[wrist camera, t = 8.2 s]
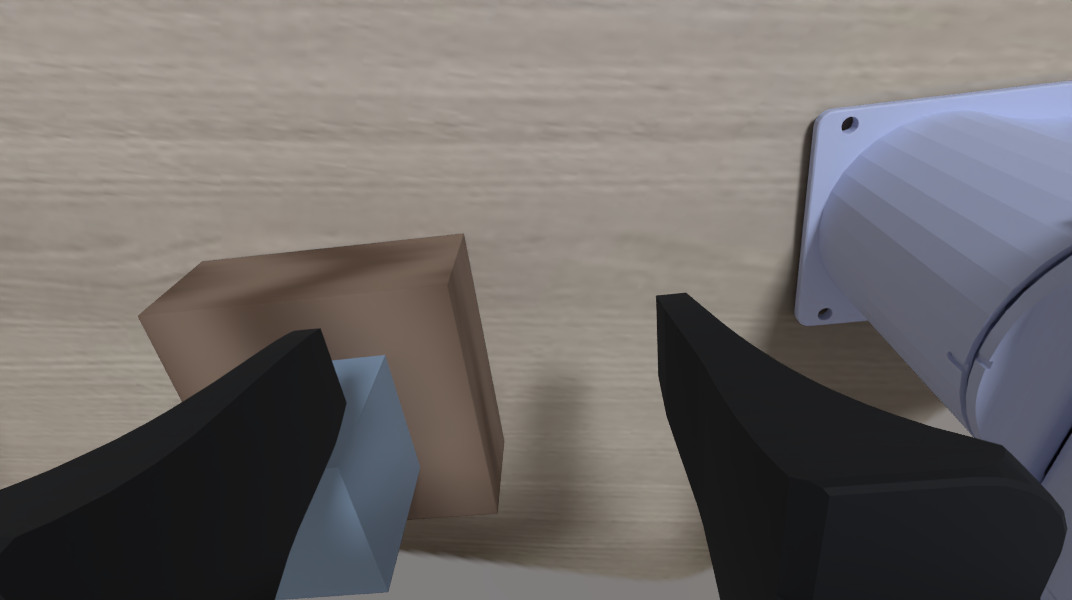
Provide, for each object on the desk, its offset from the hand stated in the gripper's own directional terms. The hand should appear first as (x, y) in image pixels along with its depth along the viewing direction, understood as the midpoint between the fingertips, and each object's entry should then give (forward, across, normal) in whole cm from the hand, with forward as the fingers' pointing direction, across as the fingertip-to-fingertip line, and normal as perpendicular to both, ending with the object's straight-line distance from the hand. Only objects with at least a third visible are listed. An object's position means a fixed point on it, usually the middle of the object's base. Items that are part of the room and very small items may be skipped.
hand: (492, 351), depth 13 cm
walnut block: (+9, +7, +6) cm, 13 cm away
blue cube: (+5, +7, +6) cm, 11 cm away
